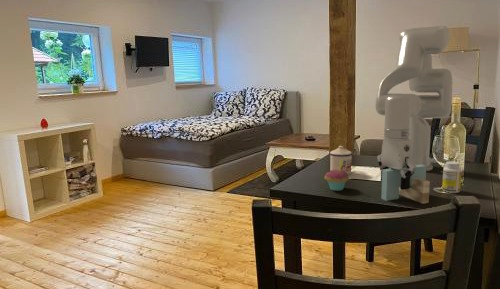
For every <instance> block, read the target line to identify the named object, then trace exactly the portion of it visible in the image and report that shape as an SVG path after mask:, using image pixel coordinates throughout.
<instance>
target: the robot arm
mask: <svg viewBox="0 0 500 289" xmlns="http://www.w3.org/2000/svg"><path fill="white" fill-rule="evenodd" d="M450 38H451V33H450V28H448V27H447V26H446V25H435V26H426V27H423V26H422V27H421V26H420V27H414V28H413V27H412V28H408V29H404V30H402V31H401V32H400V34H399V43H400V44H399V49H398V55H397V61H396V66H395V68H393V69H392V70H391V71H390V72H388V74H386V75H385V77H384V78H382V81H381V82H380V84H379V86H378V89H377V94H376V98H375V110H376V113H377V114H379V115H381V116H384V132H383V133H384V135H383V139H382V140H383V141H382V145H381V154H378V155H377V158H376V159H377V163H378V166H379V170H380V182H381V183H382V170H383V169H391V168H393V169H396V170H400V172H401V175H402V177H401V185H400V189H402V190H404V189H409V188H410V177H412V175H413V174H414V171H415V170H416V168H417V167H416V165H425V166H426V172H430V171H432V170H433V168H434V167H433V165H432V164H434V163H437V162H436V161H435V160H434V158H435V157H432V158H431V157H430V151H431V150H430V149H431V132H432V130H431V126H430V124H429V122H428V121H427V120H426V119H447V118H448V117H450V115H451V113H452V107H451V105H452V103H453V102H452V98H453V74H452V72H451V71H450V69H449V68H433V66H432V65H433V63H432V62H433V56H432V55H438V54H443V52H444V51H445V50H446V49H447V47H448V46H449V42H450ZM407 81H408V87H409V90H410V91H411V92H412V93H389V92H390V90H392V89H393V88H394V87H396V86H398V85H400V84H402V83H404V82H407ZM415 93H421V94H415ZM423 93H424V94H423ZM425 93H428V94H425ZM429 93H432V94H429ZM433 93H437V94H433ZM452 106H453V105H452ZM405 170H406V173H405V172H404V171H405Z"/></svg>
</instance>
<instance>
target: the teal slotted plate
mask: <svg viewBox="0 0 500 289" xmlns="http://www.w3.org/2000/svg"><path fill="white" fill-rule="evenodd" d="M416 167H417V168H416V170H415V171H414V174H413V175H412V177H410V186H412V179H413V178H420V179H424V180H427V171H426V166H425V165H416ZM381 171H382V182H381V196H380V197H381V198H380V199H381V200H383V201H386V202H387V201H394V200H398V199H400V194H399V187H400V185H401V177H402V175H401V172H400V170H396V169H393V168H389V169H383V170H381ZM404 172H405V173H406V170H405V171H404Z"/></svg>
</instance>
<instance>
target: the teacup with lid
mask: <svg viewBox="0 0 500 289" xmlns="http://www.w3.org/2000/svg"><path fill="white" fill-rule="evenodd" d="M329 155H330V162H329V163H330V165H329V166H330V168H329V171H332V170H336V169H339V167H340V161H341V159H343V161H342V166H341V170H342V171H344V172H346V173H347V174H348V176H349V175H351V174H352V160H353V156H352V155H353V153H352V151H350V150H348V149H347V148H344V146H343V145H338V148H336V149H335V148H334V150H331V151H330V153H329ZM342 157H343V158H342Z"/></svg>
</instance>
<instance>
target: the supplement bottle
mask: <svg viewBox="0 0 500 289" xmlns="http://www.w3.org/2000/svg"><path fill="white" fill-rule="evenodd" d="M442 170H443V172H442V184H441V185H442V186H441V189H442V191H443V192H445V191H446V192H445V193H448V192H449V193H448V194H458V193H460V192H461V185H462V183H461V182H462V168H460V162H458V161H449V160H448V161H446V162H445V167H443V169H442Z"/></svg>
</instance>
